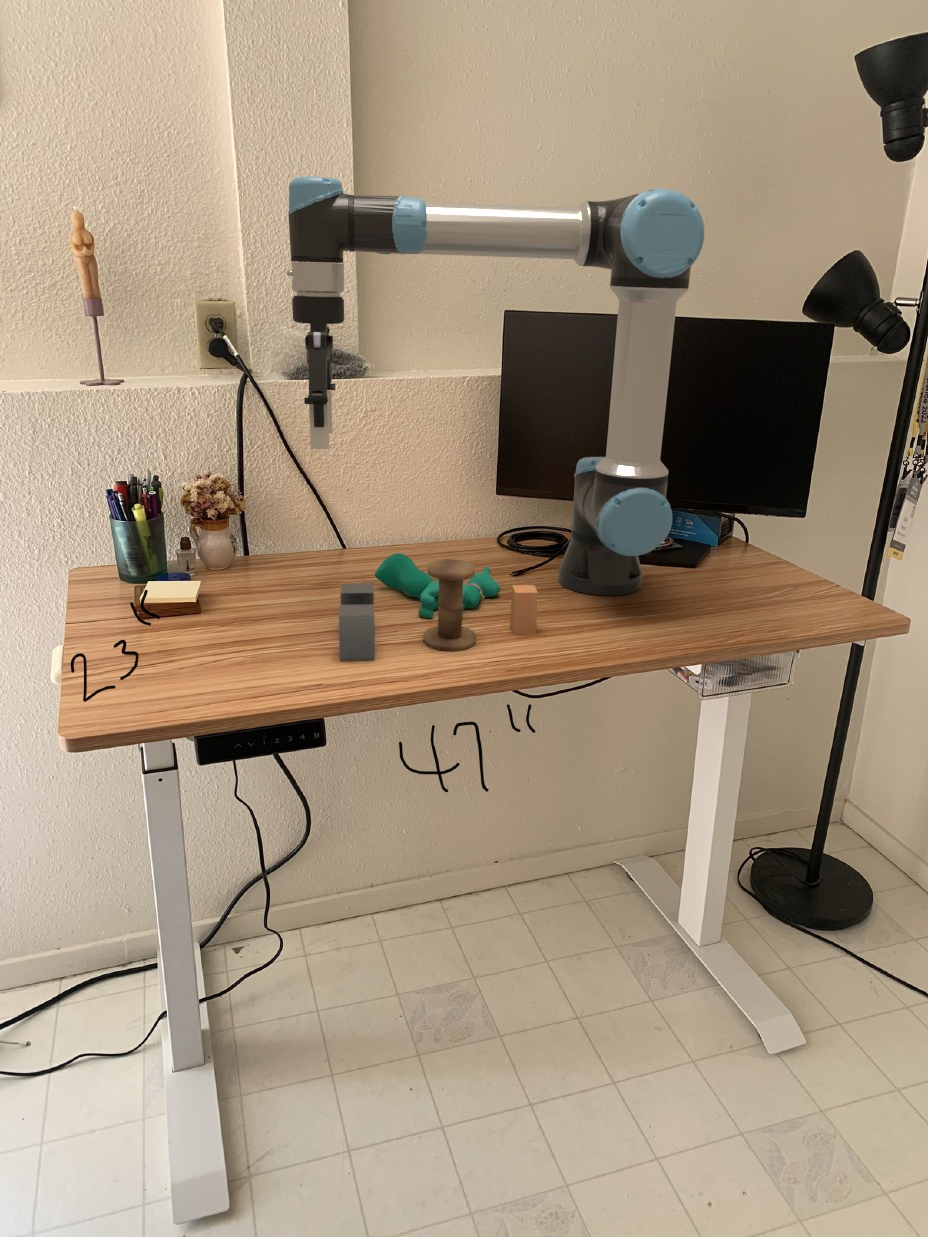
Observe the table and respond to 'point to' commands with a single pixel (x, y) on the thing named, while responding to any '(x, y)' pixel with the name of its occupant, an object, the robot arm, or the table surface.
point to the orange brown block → (523, 609)
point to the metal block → (357, 622)
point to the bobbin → (450, 606)
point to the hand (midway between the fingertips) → (322, 440)
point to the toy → (431, 584)
